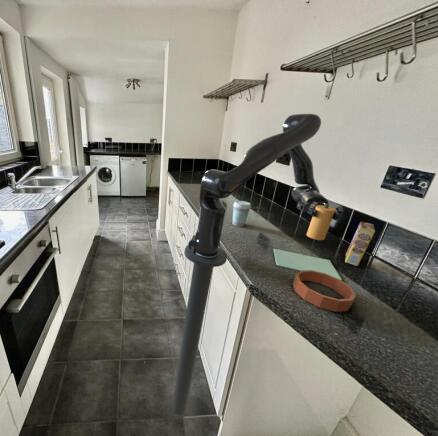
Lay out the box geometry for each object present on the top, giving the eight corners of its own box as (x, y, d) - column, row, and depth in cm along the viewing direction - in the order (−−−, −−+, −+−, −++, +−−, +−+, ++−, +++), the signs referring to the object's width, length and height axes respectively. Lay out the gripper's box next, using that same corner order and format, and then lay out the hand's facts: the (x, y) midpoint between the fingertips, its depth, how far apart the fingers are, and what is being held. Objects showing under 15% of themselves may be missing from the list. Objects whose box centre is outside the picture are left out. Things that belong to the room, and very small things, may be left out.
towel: (276, 265, 86) (277, 264, 85) (273, 249, 98) (273, 248, 98) (341, 280, 79) (342, 279, 79) (329, 261, 91) (329, 260, 91)
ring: (297, 301, 68) (301, 291, 66) (289, 275, 80) (293, 265, 79) (358, 318, 63) (364, 307, 61) (340, 287, 75) (344, 277, 74)
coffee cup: (226, 223, 122) (230, 202, 118) (234, 220, 127) (238, 199, 123) (241, 229, 116) (247, 206, 112) (249, 225, 122) (254, 203, 117)
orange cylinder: (308, 238, 81) (319, 204, 76) (305, 232, 86) (315, 200, 81) (326, 241, 79) (339, 207, 75) (322, 235, 84) (334, 202, 79)
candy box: (359, 267, 88) (375, 230, 82) (344, 262, 90) (360, 227, 85) (358, 258, 94) (374, 224, 89) (345, 254, 97) (359, 221, 91)
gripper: (295, 190, 93) (304, 201, 78) (338, 196, 88) (356, 208, 73) (290, 208, 95) (298, 222, 81) (331, 214, 91) (347, 230, 76)
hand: (325, 215), depth 77 cm, fingers closed on orange cylinder, 5 cm apart
